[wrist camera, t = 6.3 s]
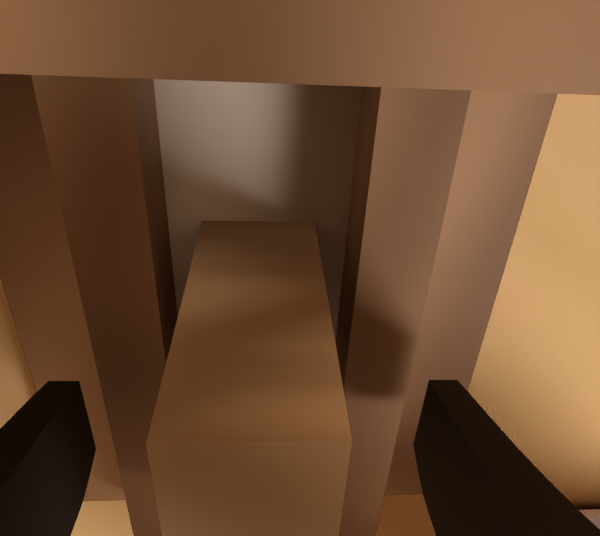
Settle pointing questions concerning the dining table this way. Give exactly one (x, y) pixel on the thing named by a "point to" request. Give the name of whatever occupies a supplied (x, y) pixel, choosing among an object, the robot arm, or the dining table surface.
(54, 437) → the robot arm
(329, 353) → the brown wooden block
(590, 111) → the dining table surface
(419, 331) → the walnut sill track
